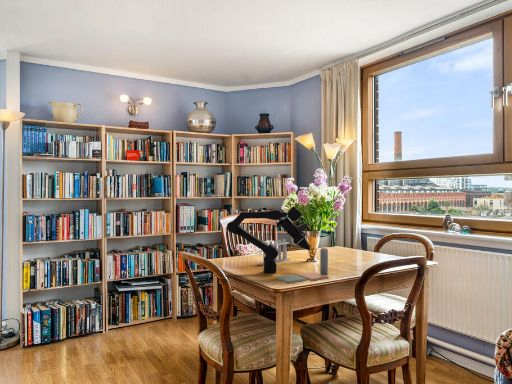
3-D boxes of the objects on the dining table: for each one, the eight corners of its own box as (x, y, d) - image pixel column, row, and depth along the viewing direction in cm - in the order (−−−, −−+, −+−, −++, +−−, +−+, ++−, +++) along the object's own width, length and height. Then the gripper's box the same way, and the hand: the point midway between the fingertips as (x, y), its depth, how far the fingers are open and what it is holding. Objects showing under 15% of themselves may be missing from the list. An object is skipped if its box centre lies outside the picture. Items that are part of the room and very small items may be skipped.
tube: (320, 274, 210) (321, 247, 210) (319, 273, 214) (319, 246, 214) (328, 274, 210) (328, 247, 210) (327, 273, 214) (327, 246, 214)
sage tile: (288, 283, 191) (288, 281, 191) (275, 278, 200) (275, 276, 200) (306, 280, 197) (306, 278, 197) (292, 276, 206) (292, 274, 206)
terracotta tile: (312, 280, 196) (312, 278, 196) (298, 276, 206) (298, 274, 206) (328, 278, 202) (328, 276, 202) (314, 274, 211) (314, 272, 211)
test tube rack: (284, 258, 257) (284, 238, 257) (290, 259, 254) (290, 239, 254) (259, 264, 238) (259, 242, 238) (265, 265, 235) (265, 243, 235)
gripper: (299, 218, 204) (321, 240, 203) (300, 216, 222) (320, 236, 221) (284, 233, 205) (305, 255, 204) (286, 229, 224) (305, 249, 222)
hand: (309, 248), depth 213 cm, fingers open, 9 cm apart
